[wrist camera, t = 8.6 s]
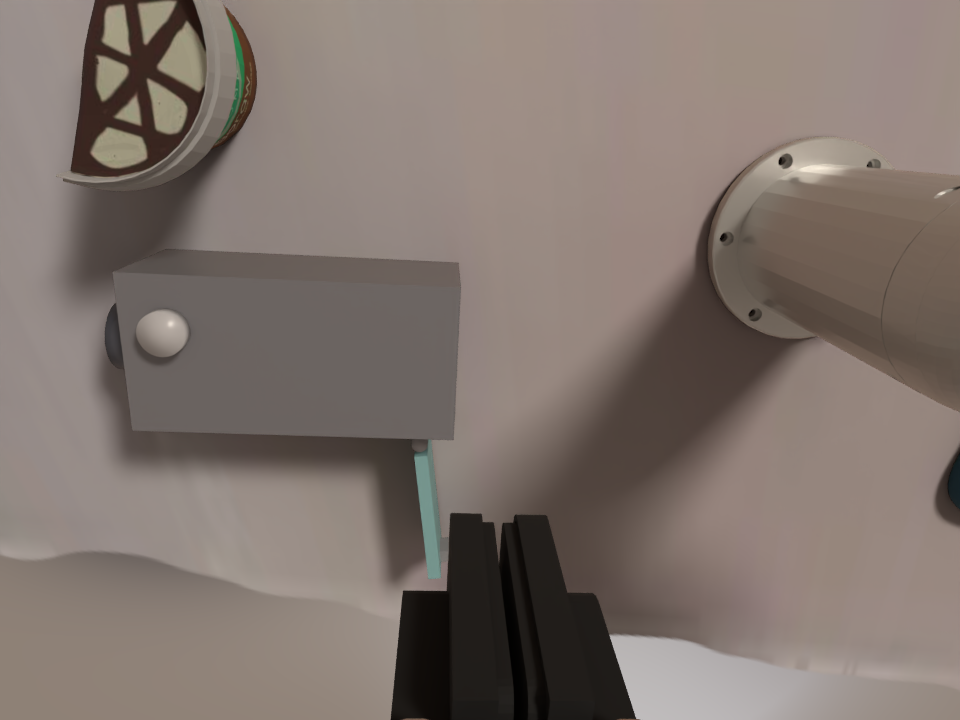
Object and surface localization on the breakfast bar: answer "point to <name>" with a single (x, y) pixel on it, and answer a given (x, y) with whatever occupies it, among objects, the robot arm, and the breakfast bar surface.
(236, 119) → the food container
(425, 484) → the side door
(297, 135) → the breakfast bar surface
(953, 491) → the external hard drive
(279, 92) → the breakfast bar surface
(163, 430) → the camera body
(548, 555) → the robot arm
